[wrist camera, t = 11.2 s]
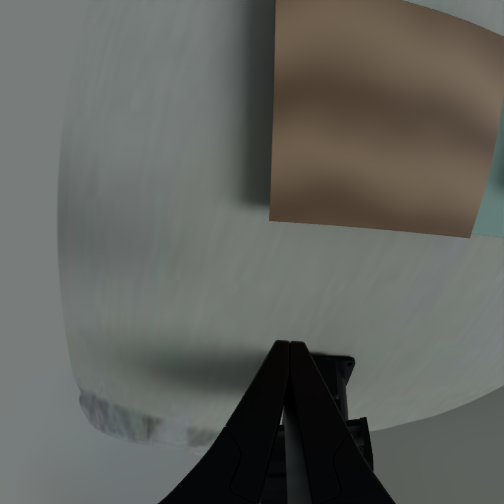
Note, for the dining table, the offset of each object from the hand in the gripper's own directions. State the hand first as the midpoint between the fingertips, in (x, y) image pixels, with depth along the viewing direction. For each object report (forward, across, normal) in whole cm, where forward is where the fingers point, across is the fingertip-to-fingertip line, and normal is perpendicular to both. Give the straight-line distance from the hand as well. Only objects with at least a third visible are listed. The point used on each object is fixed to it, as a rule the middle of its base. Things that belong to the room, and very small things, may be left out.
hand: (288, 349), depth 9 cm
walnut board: (+12, -5, -6) cm, 14 cm away
